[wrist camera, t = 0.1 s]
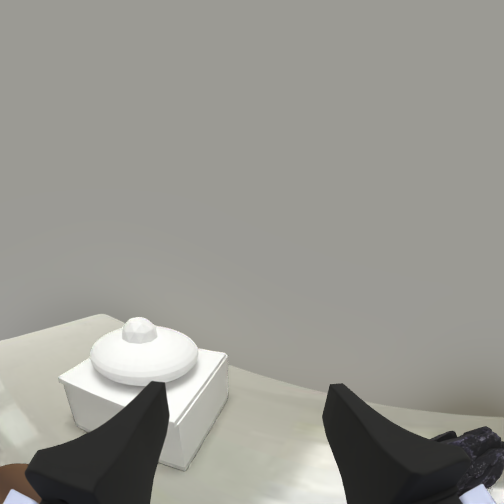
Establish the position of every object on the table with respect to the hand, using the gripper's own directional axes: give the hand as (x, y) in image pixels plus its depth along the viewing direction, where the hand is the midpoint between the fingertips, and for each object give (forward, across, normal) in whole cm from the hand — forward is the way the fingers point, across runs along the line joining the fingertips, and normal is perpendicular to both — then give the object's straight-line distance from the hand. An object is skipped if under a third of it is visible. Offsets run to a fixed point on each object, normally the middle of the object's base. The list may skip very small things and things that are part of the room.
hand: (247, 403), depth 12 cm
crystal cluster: (+4, -25, +22) cm, 34 cm away
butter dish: (+22, +12, +24) cm, 35 cm away
